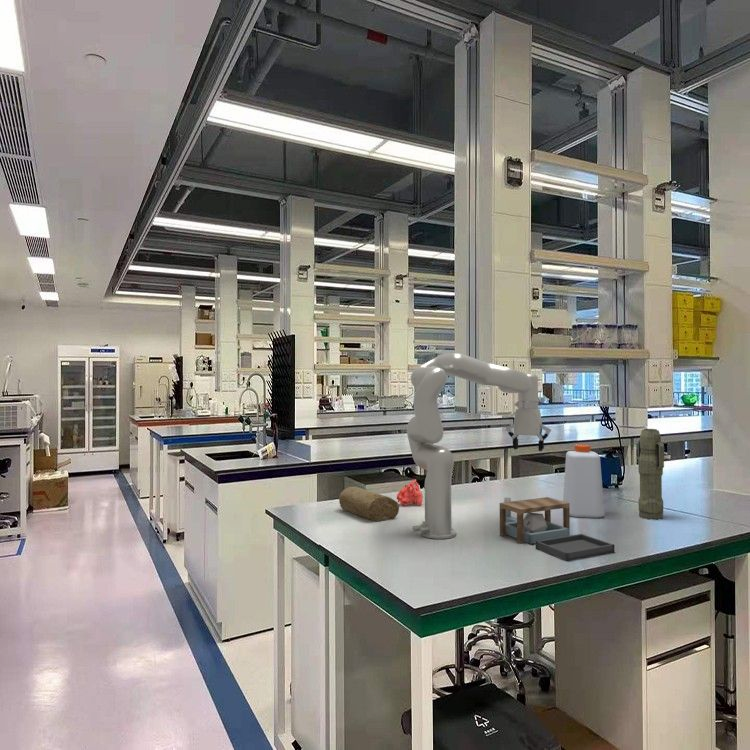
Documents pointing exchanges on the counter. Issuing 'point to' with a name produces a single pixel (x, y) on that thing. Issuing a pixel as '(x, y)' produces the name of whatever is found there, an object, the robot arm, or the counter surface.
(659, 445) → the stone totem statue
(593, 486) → the plastic bottle
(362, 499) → the core sample
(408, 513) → the counter surface
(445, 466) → the robot arm
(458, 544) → the counter surface
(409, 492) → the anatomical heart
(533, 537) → the sliding frame
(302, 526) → the counter surface
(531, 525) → the grey rock
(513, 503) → the small wooden table
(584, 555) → the tray
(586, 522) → the counter surface
